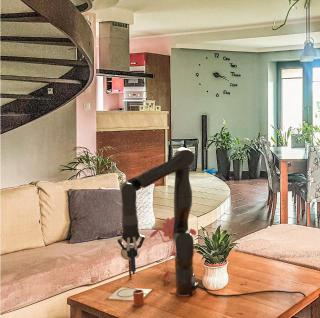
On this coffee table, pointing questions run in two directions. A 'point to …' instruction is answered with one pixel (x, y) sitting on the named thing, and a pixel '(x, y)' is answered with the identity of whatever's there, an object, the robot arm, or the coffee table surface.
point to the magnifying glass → (127, 258)
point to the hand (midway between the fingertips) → (132, 256)
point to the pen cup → (138, 297)
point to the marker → (132, 260)
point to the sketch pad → (127, 293)
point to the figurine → (169, 232)
